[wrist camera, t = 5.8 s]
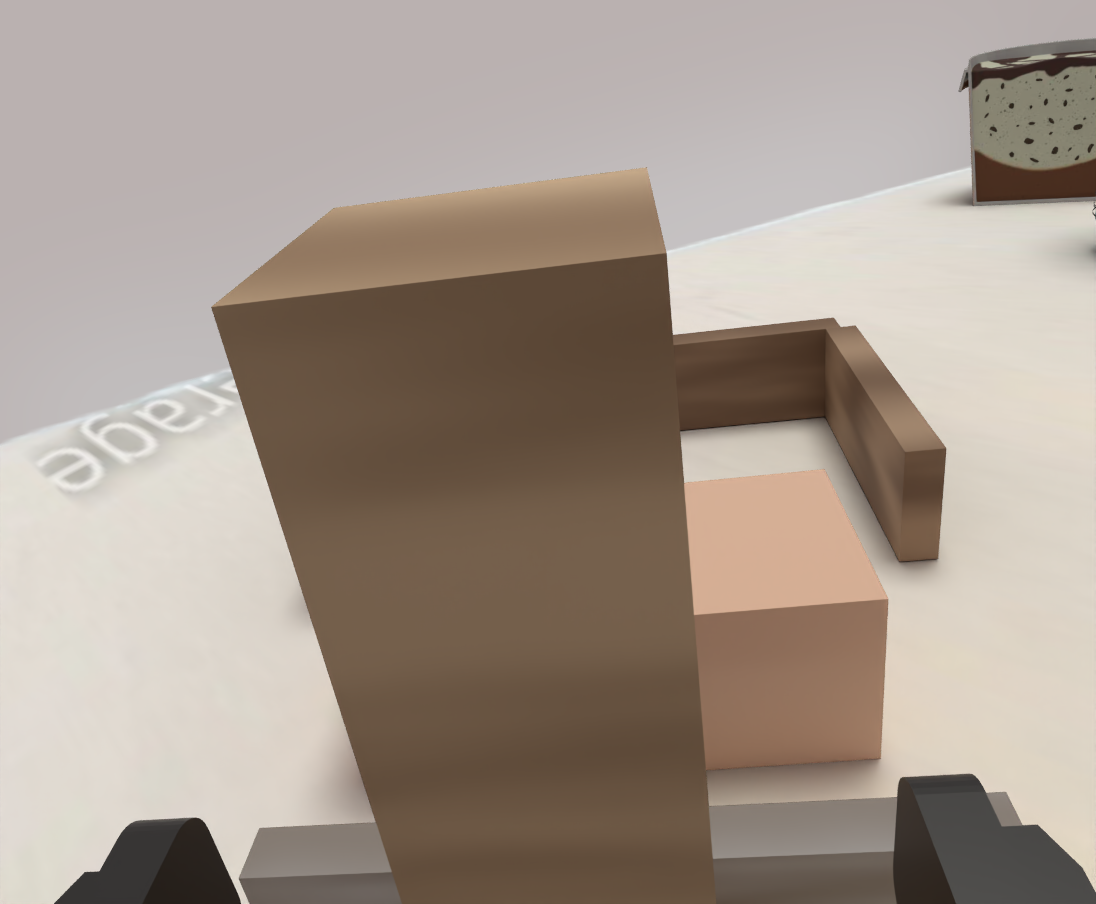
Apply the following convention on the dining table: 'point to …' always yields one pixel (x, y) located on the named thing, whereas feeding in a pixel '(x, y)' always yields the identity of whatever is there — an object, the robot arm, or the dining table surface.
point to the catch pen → (823, 412)
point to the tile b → (784, 623)
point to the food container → (1033, 123)
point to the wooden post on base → (507, 563)
